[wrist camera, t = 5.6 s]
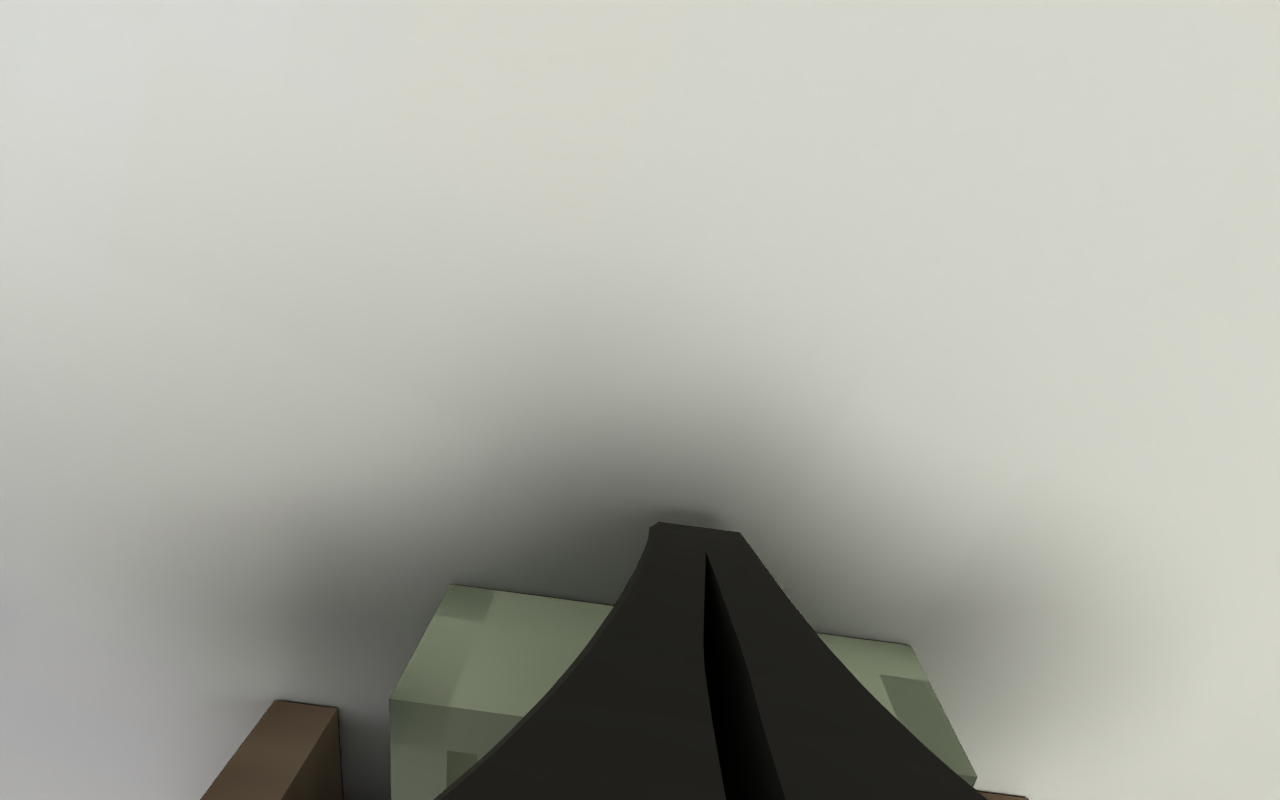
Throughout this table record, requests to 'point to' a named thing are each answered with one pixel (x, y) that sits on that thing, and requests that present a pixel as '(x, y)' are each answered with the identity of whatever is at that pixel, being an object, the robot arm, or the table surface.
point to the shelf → (299, 758)
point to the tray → (541, 653)
